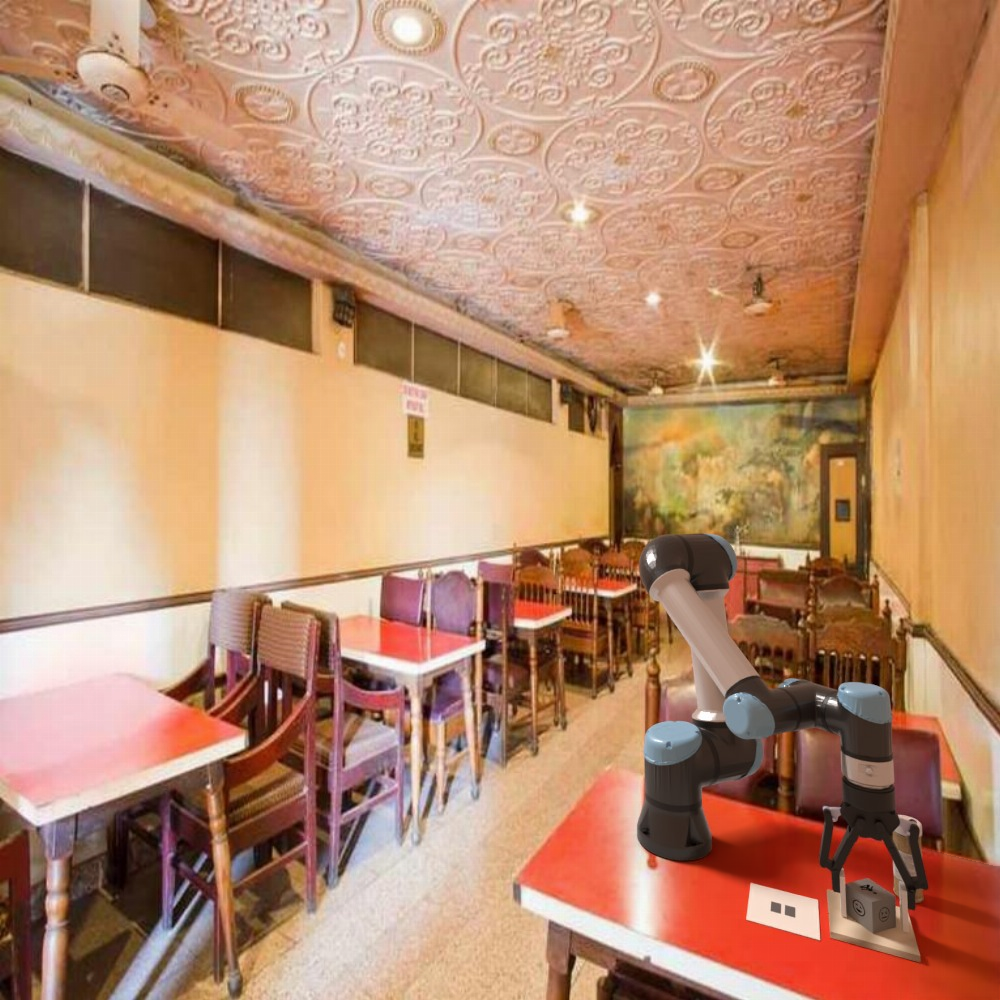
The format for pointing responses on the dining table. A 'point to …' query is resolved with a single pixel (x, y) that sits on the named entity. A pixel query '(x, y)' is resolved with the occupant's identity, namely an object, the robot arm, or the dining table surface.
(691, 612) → the robot arm
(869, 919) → the dice cube
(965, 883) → the dining table surface
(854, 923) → the birch coaster
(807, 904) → the white tile
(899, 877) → the sprinkles bottle
